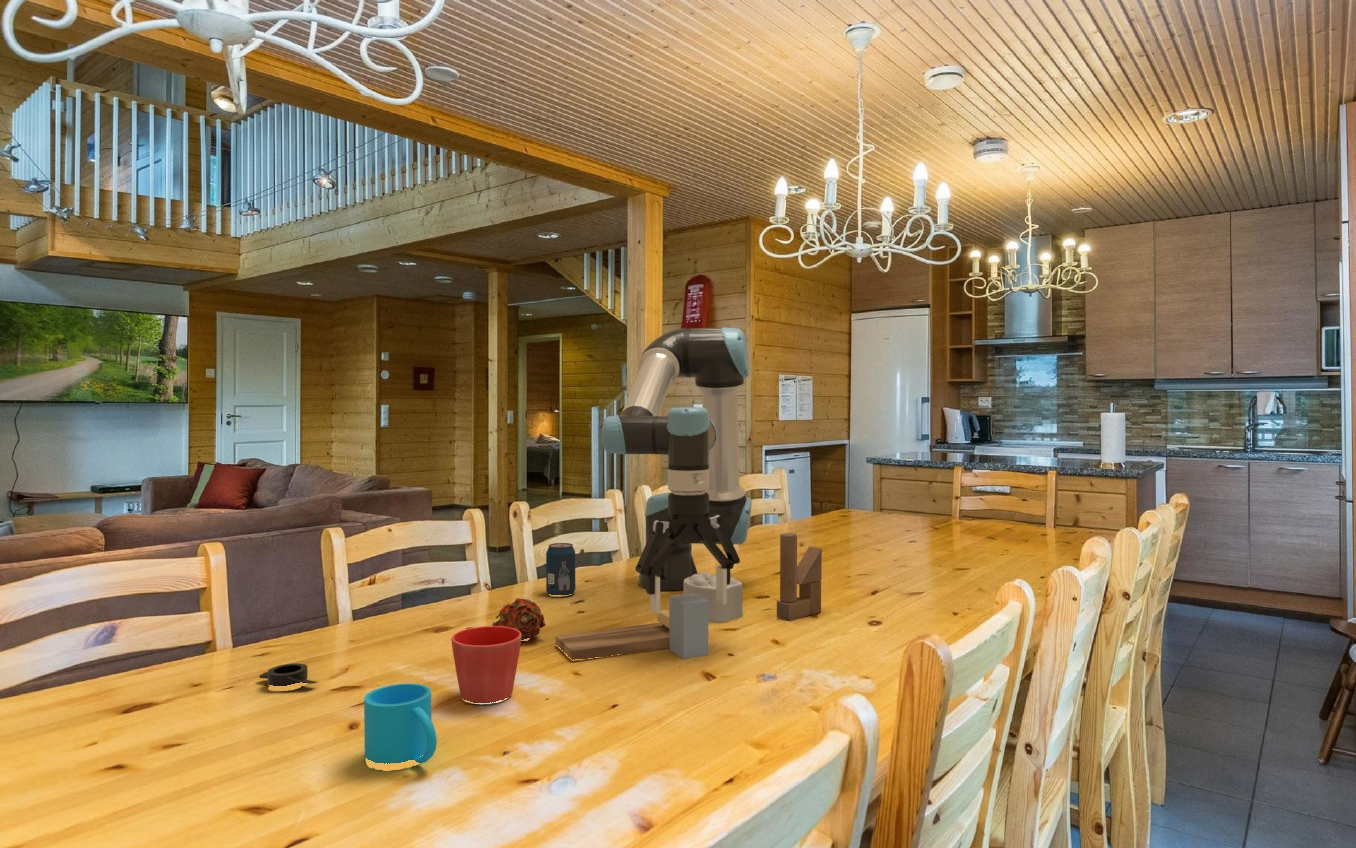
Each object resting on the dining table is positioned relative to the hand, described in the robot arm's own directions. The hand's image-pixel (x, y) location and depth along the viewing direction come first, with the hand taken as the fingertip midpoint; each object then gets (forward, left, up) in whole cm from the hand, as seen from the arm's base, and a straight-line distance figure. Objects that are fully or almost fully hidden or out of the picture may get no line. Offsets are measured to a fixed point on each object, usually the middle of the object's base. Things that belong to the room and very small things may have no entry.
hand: (689, 607), depth 145 cm
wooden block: (-12, +33, -9) cm, 36 cm away
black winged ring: (-12, -66, -9) cm, 68 cm away
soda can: (-52, -8, -8) cm, 54 cm away
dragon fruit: (-21, -26, -9) cm, 35 cm away
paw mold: (-21, +16, -9) cm, 28 cm away
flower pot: (+7, -38, -9) cm, 40 cm away
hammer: (-4, 0, -8) cm, 9 cm away
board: (-8, -8, -8) cm, 14 cm away
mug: (+25, -52, -9) cm, 59 cm away
